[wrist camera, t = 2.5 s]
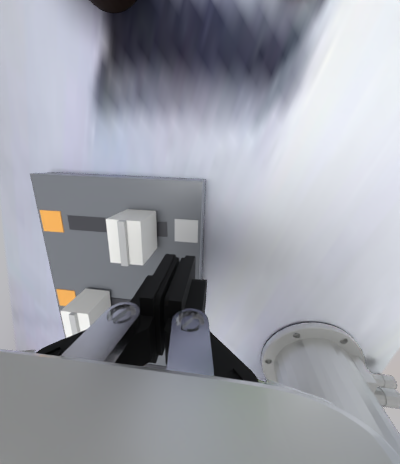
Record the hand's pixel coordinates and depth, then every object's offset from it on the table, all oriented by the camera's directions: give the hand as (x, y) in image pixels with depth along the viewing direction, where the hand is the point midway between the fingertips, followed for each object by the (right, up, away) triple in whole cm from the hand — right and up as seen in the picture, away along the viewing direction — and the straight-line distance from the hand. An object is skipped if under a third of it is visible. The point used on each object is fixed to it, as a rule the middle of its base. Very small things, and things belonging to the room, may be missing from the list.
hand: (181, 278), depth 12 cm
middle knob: (-11, -6, +14) cm, 19 cm away
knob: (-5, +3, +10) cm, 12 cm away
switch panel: (-8, -5, +17) cm, 19 cm away
